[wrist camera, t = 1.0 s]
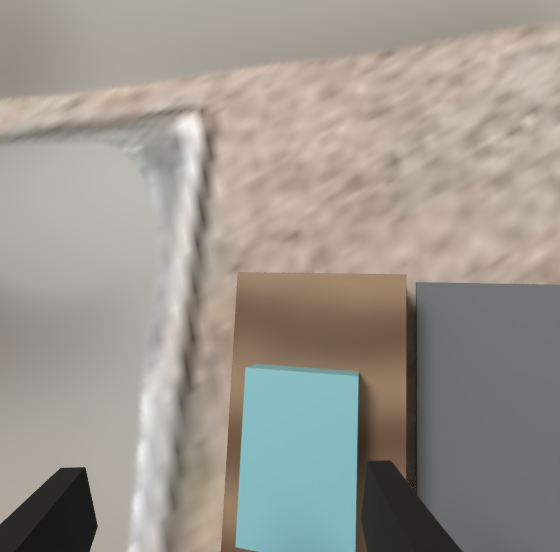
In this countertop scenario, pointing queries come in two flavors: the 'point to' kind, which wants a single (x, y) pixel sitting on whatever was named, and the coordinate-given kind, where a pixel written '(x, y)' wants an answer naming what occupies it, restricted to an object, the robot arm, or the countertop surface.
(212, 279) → the countertop surface
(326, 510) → the thick teal block
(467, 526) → the mat
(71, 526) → the robot arm
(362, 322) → the brown flat block
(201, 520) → the countertop surface
